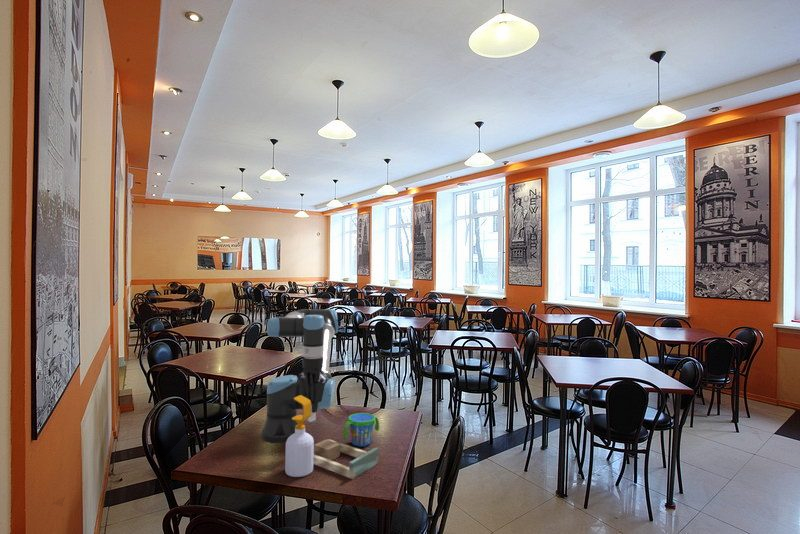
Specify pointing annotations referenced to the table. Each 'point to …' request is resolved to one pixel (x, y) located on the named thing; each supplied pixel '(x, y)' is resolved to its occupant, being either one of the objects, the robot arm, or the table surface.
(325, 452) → the block
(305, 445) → the soap bottle
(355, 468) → the lane
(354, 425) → the snack cup
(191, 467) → the table surface
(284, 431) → the robot arm
